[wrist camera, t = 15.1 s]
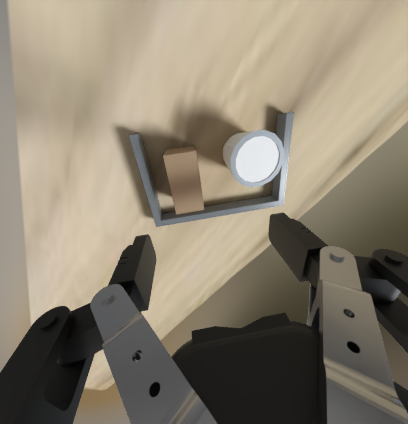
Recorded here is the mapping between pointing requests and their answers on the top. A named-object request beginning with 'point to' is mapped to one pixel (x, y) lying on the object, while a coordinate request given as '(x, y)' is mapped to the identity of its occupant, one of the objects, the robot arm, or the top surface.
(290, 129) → the grey u-shaped bracket
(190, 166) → the block
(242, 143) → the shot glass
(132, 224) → the top surface
